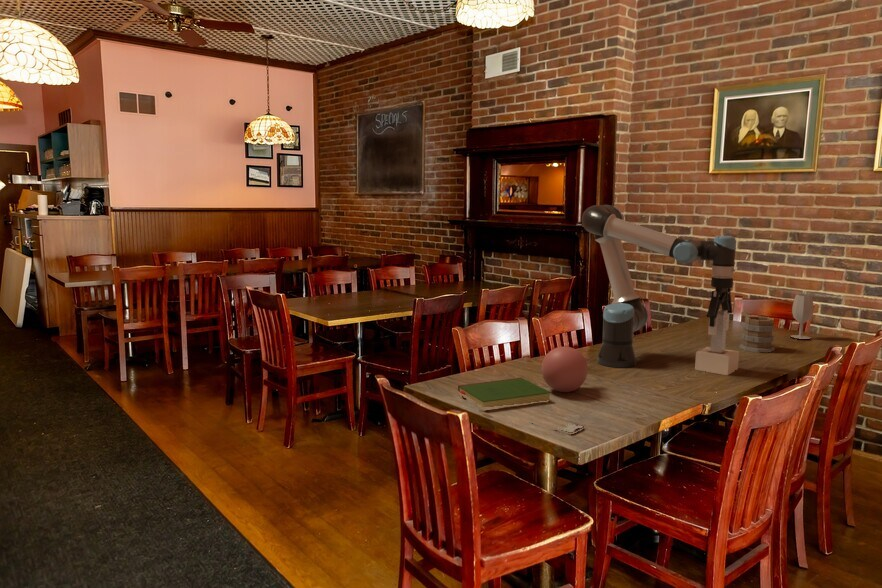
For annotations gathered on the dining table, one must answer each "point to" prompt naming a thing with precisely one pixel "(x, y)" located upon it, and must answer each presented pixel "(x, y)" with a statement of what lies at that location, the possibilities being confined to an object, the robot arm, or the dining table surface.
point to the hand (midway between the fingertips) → (718, 332)
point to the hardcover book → (504, 392)
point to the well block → (717, 361)
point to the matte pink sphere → (564, 369)
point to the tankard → (757, 333)
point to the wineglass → (802, 312)
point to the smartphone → (572, 428)
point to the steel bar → (719, 333)
